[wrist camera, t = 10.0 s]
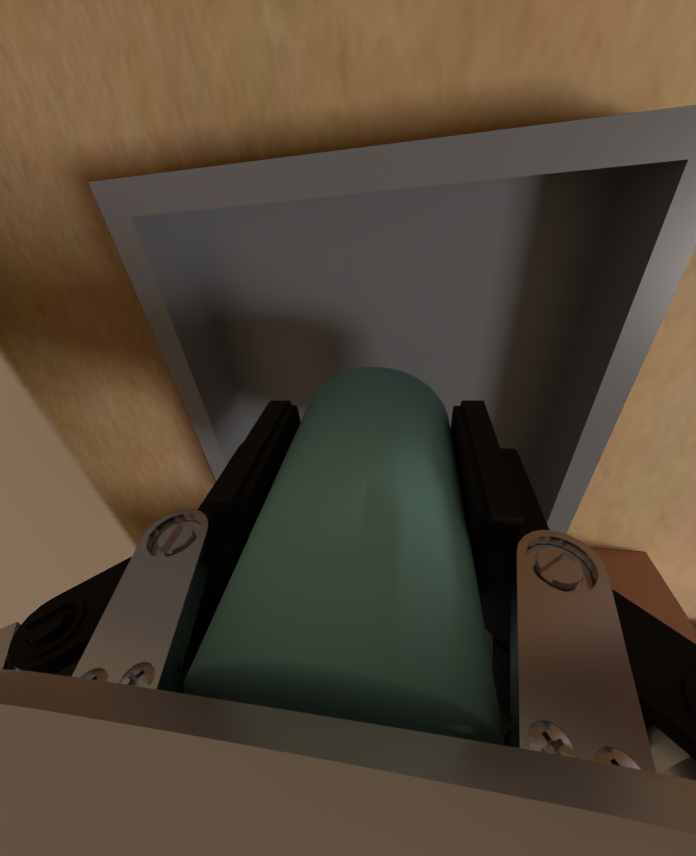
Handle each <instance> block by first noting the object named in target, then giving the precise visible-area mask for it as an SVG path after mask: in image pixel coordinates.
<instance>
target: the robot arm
mask: <svg viewBox="0 0 696 856" xmlns="http://www.w3.org/2000/svg"><path fill="white" fill-rule="evenodd" d="M300 423H301V421H300V416H299V411H298V408H297V406H296V405H292V404H291V402H290V401H289V400H272V401H270V402H269V403H268V404H267V406H266V407H265V409H264V411H263V412H262V414H261V415H260V417H259V418H258V420H257V422H256V423H255V425H254V426H253V428H252V429H251V431H250V432H249V434H248V436H247V437H246V439H245V440H244V442H243V443H242V444H241V445H240V446H239V447H238V448H237V450H236V452H235V453H234V455H233V456H232V458H231V459H230V461H229V462H228V464H227V466H226V467H225V469H224V470H223V472H222V473H221V475H220V476H219V478H218V480H217V481H216V483H215V484H214V486H213V487H212V489H211V490H210V492H209V493H208V495H207V497H206V498H205V500H204V501H203V503H202V504H201V506H200V507H199V509H198V510H196V509H182V510H178V511H174V512H172V513H170V514H167V515H165V516H163V517H162V518H160V519H159V520H157V521H156V522H155V523H154V524H153V525H152V526H150V527H149V528H148V529H147V531H146V532H145V534H144V535H143V537H142V538H141V540H140V542H139V544H138V546H137V548H136V550H135V552H134V554H133V556H132V557H130V558H128V559H126V560H124V561H123V562H121V563H119V564H117V565H115V566H113V567H111V568H109V569H107V570H105V571H104V572H102V573H100V574H98V575H96V576H94V577H92V578H91V579H89V580H87V581H85V582H83V583H81V584H79V585H77V586H75V587H73V588H71V589H69V590H68V591H66V592H64V593H62V594H60V595H58V596H56V597H55V598H53V599H51V600H49V601H48V602H46V603H45V604H43V605H41V606H40V607H39V608H38V609H37V610H36V611H35V612H33V613H32V614H31V615H30V616H29V617H28V618H27V619H26V620H25V621H24V622H23V624H22V625H20V624H19V623H17V622H16V623H14V624H12V625H9V626H7V627H5V628H2V629H0V856H696V644H695V643H693V642H692V641H690V640H689V639H687V638H686V637H684V636H683V635H681V634H680V633H678V632H677V631H675V630H674V629H672V628H671V627H669V626H668V625H666V624H665V623H663V622H662V621H660V620H659V619H657V618H656V617H654V616H653V615H651V614H649V613H648V612H646V611H645V610H643V609H642V608H640V607H639V606H637V605H636V604H634V603H633V602H631V601H630V600H628V599H627V598H625V597H624V596H622V595H621V594H619V593H618V592H616V591H615V590H613V589H612V588H611V584H610V580H609V576H608V573H607V570H606V568H605V566H604V564H603V562H602V561H601V559H600V558H599V557H598V556H597V554H596V553H595V552H594V551H593V550H592V549H590V548H589V547H588V546H587V545H585V544H584V543H583V542H581V541H579V540H577V539H576V538H574V537H572V536H570V535H567V534H564V533H561V532H558V531H551V530H549V527H548V525H547V522H546V520H545V517H544V515H543V513H542V510H541V508H540V505H539V503H538V500H537V498H536V495H535V493H534V490H533V488H532V486H531V483H530V481H529V478H528V476H527V473H526V471H525V468H524V466H523V463H522V461H521V459H520V456H519V454H518V452H517V450H515V449H513V448H500V446H499V443H498V440H497V437H496V434H495V431H494V428H493V425H492V422H491V420H490V417H489V414H488V411H487V408H486V405H485V402H484V401H483V400H462V401H461V404H460V406H453V412H452V421H451V434H452V440H453V445H454V451H455V457H456V463H457V469H458V474H459V480H460V486H461V492H462V498H463V503H464V509H465V515H466V521H467V527H468V532H469V538H470V544H471V550H472V555H473V561H474V567H475V573H476V579H477V584H478V590H479V596H480V602H481V608H482V613H483V619H484V625H485V629H486V630H487V631H489V632H490V634H489V654H490V660H491V665H492V671H493V677H494V683H495V689H496V694H497V700H498V706H499V712H500V718H501V723H502V729H503V735H504V741H505V746H503V745H497V744H491V743H485V742H479V741H473V740H467V739H461V738H455V737H449V736H443V735H437V734H431V733H425V732H419V731H413V730H407V729H401V728H395V727H389V726H383V725H377V724H370V723H364V722H358V721H352V720H346V719H339V718H333V717H327V716H321V715H315V714H308V713H302V712H296V711H290V710H284V709H277V708H271V707H265V706H259V705H252V704H246V703H240V702H234V701H227V700H221V699H215V698H209V697H202V696H196V695H189V694H185V692H184V688H183V685H184V681H185V678H186V676H187V674H188V672H189V669H190V667H191V665H192V663H193V660H194V658H195V656H196V654H197V652H198V649H199V647H200V645H201V643H202V640H203V638H204V636H205V634H206V632H207V629H208V627H209V625H210V623H211V620H212V618H213V616H214V614H215V612H216V609H217V607H218V605H219V603H220V600H221V598H222V596H223V594H224V592H225V589H226V587H227V585H228V583H229V580H230V578H231V576H232V574H233V572H234V569H235V567H236V565H237V563H238V560H239V558H240V556H241V554H242V552H243V549H244V547H245V545H246V543H247V540H248V538H249V536H250V534H251V532H252V529H253V527H254V525H255V523H256V520H257V518H258V516H259V514H260V512H261V509H262V507H263V505H264V503H265V500H266V498H267V496H268V494H269V492H270V489H271V487H272V485H273V483H274V480H275V478H276V476H277V474H278V472H279V469H280V467H281V465H282V463H283V460H284V458H285V456H286V454H287V452H288V449H289V447H290V445H291V443H292V440H293V438H294V436H295V434H296V432H297V429H298V427H299V425H300Z"/></svg>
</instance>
